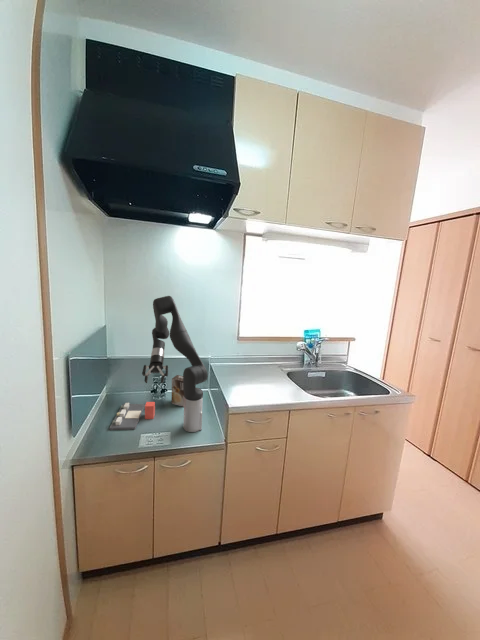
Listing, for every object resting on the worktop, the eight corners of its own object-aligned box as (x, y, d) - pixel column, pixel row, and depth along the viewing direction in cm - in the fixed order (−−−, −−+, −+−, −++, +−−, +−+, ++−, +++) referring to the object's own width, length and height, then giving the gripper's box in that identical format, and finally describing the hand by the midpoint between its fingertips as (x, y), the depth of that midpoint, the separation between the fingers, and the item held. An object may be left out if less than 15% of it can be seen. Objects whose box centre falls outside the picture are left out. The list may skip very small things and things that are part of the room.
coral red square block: (154, 414, 145) (154, 401, 143) (153, 418, 140) (153, 406, 139) (146, 414, 144) (146, 401, 142) (144, 419, 140) (144, 406, 138)
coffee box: (189, 402, 159) (190, 377, 156) (184, 407, 153) (185, 381, 150) (176, 398, 162) (177, 374, 159) (170, 403, 156) (171, 378, 153)
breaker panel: (144, 405, 152) (144, 400, 151) (135, 429, 131) (135, 423, 130) (122, 406, 150) (122, 400, 149) (109, 429, 129) (109, 424, 128)
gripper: (144, 353, 155) (139, 380, 146) (169, 354, 157) (166, 380, 149) (146, 359, 161) (142, 384, 153) (170, 359, 163) (167, 385, 155)
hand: (154, 382), depth 151 cm, fingers open, 8 cm apart
